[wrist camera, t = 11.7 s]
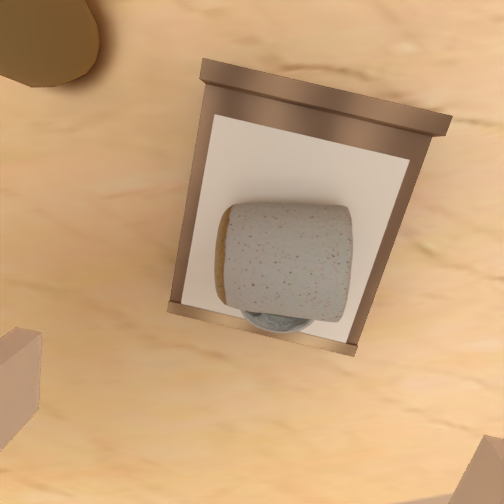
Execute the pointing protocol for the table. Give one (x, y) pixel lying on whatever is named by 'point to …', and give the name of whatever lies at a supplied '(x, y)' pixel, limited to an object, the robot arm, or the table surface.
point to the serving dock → (314, 125)
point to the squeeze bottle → (47, 41)
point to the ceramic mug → (284, 263)
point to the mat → (291, 201)
